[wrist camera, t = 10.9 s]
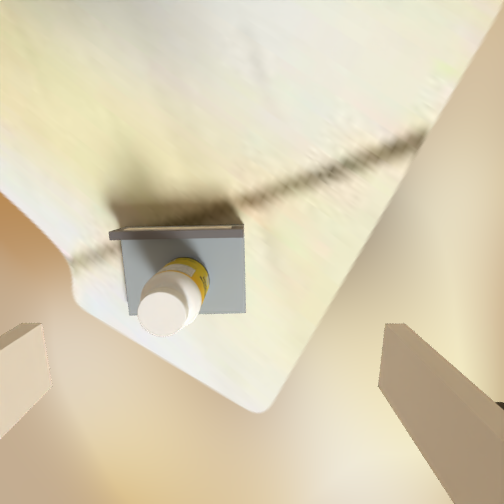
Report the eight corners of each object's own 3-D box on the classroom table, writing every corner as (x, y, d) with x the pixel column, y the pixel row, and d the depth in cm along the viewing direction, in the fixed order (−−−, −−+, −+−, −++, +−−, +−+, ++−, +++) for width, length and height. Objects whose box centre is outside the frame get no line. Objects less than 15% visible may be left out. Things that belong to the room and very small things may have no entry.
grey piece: (126, 225, 40) (108, 230, 35) (243, 223, 40) (243, 228, 35) (135, 309, 42) (119, 325, 37) (245, 307, 42) (245, 322, 37)
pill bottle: (193, 310, 40) (172, 358, 29) (153, 284, 39) (114, 323, 28) (220, 272, 39) (208, 307, 28) (178, 245, 38) (150, 269, 27)
